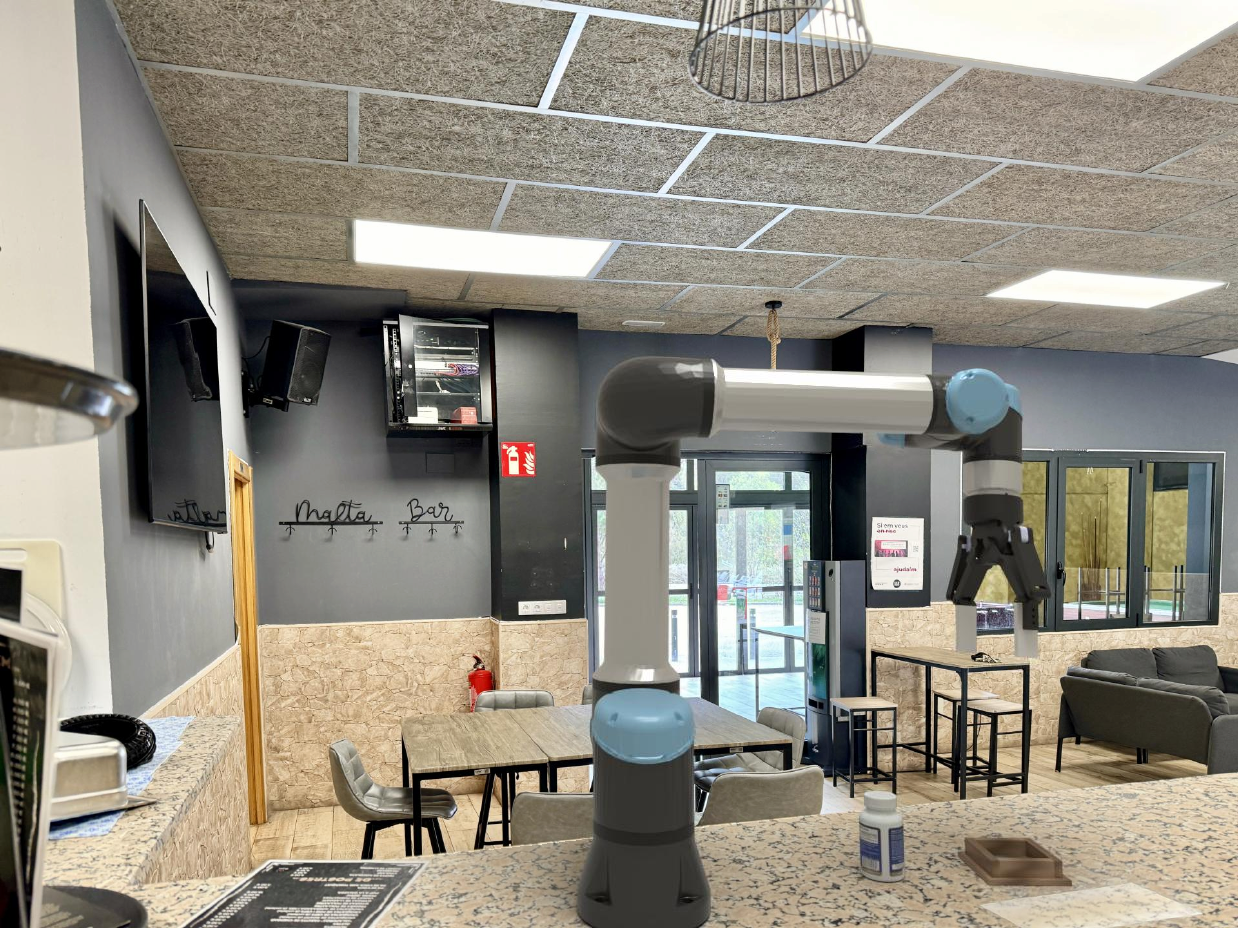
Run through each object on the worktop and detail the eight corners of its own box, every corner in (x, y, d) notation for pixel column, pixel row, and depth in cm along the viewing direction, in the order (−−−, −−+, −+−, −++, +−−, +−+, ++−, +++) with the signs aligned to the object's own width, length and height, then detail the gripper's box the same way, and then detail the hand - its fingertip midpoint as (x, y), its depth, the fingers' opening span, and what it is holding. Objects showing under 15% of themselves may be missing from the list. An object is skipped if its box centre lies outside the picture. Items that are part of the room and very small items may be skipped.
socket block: (988, 884, 103) (987, 862, 104) (958, 855, 113) (957, 835, 114) (1072, 885, 103) (1070, 863, 103) (1033, 856, 113) (1032, 836, 113)
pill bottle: (899, 867, 109) (897, 789, 110) (909, 883, 104) (907, 801, 105) (856, 866, 109) (854, 788, 110) (864, 882, 104) (862, 799, 105)
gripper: (1079, 485, 104) (1085, 661, 100) (968, 509, 129) (968, 652, 125) (1023, 479, 103) (1026, 657, 99) (921, 505, 128) (921, 649, 124)
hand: (994, 655), depth 112 cm, fingers open, 13 cm apart
